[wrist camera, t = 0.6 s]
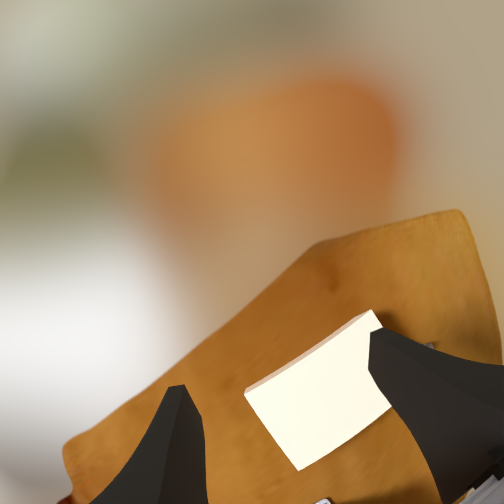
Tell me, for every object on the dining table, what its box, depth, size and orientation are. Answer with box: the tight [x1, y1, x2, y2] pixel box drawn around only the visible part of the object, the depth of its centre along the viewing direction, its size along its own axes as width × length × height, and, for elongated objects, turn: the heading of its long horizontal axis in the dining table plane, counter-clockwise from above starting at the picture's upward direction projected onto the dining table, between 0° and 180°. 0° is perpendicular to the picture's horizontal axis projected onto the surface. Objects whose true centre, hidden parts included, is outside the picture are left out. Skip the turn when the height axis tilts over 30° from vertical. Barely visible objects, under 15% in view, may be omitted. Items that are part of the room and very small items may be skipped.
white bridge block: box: [244, 310, 391, 471], centre depth 31 cm, size 12×18×6 cm, turn 121°
